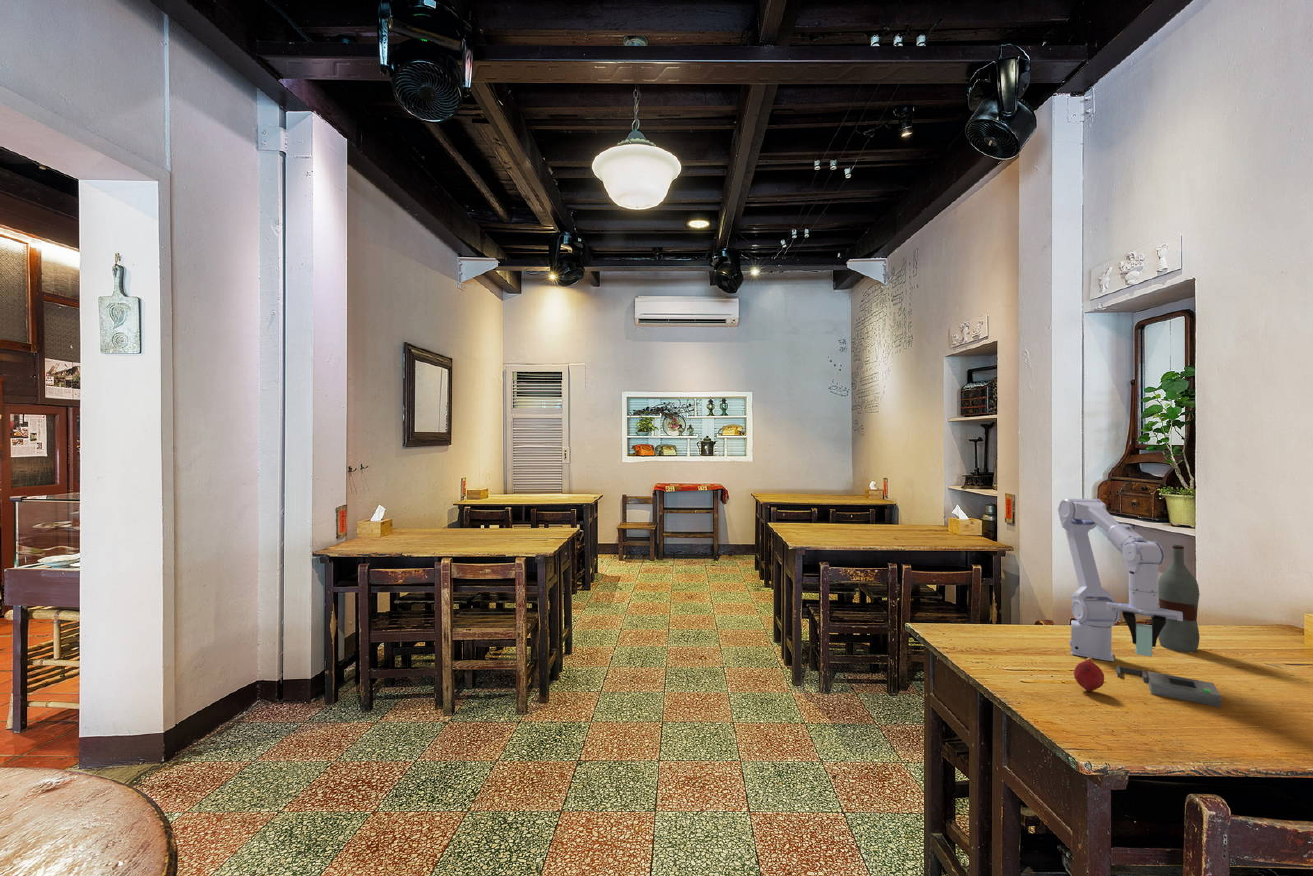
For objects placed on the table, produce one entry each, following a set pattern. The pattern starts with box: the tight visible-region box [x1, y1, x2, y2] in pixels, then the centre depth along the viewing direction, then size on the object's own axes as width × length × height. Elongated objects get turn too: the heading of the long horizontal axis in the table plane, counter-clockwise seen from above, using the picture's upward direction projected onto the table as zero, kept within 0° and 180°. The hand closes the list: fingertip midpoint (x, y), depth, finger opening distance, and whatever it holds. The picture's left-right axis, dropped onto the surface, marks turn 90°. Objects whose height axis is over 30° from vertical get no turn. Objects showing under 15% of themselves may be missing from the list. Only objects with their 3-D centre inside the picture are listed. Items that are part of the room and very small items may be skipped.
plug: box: [1135, 622, 1153, 657], centre depth 146 cm, size 3×3×7 cm
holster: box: [1116, 665, 1148, 684], centre depth 149 cm, size 6×6×1 cm
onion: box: [1073, 657, 1105, 693], centre depth 139 cm, size 6×6×8 cm
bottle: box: [1157, 544, 1201, 653], centre depth 171 cm, size 9×9×30 cm
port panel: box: [1146, 671, 1222, 708], centre depth 138 cm, size 12×9×3 cm
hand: (1143, 644), depth 146 cm, fingers closed on plug, 3 cm apart
